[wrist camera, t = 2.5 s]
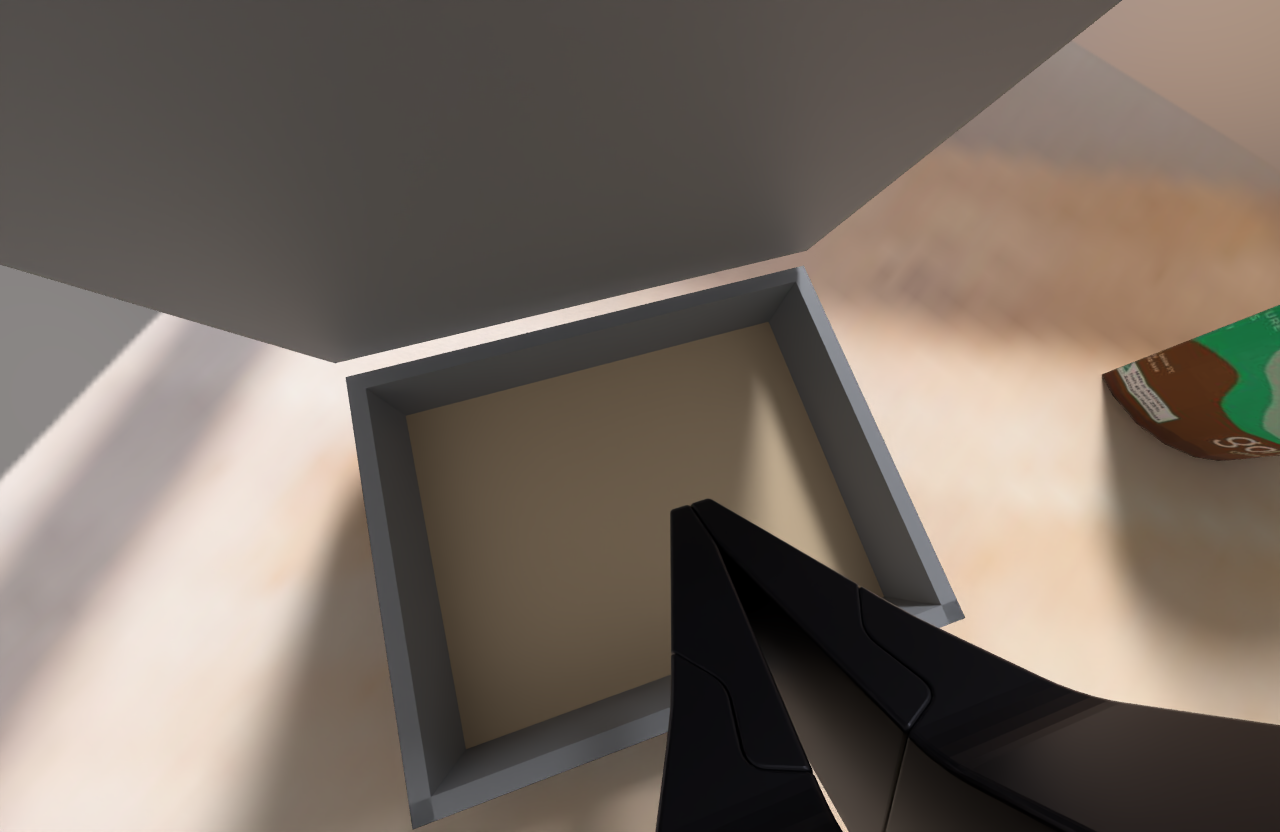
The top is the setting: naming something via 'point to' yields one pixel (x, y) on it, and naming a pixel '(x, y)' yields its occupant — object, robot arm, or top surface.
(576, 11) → the mailer lid
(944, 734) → the robot arm
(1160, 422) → the food container
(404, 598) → the box
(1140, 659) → the top surface
